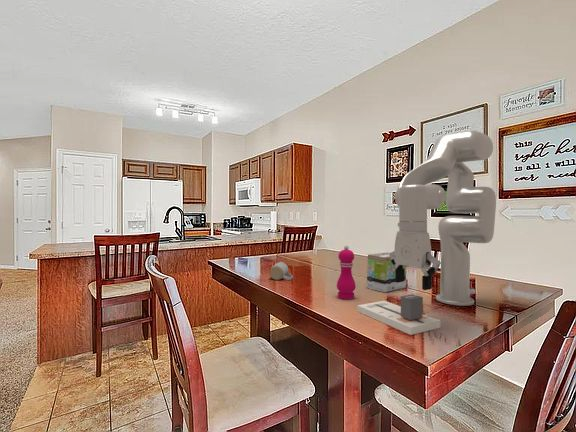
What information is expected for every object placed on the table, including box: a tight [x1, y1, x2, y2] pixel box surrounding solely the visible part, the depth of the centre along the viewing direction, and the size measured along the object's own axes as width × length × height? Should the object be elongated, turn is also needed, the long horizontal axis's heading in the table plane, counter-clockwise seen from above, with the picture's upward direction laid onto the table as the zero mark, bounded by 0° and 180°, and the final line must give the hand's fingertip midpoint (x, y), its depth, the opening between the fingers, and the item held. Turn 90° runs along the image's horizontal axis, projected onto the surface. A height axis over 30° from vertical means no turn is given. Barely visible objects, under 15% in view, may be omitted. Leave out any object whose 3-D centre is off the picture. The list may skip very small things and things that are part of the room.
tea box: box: [366, 251, 407, 293], centre depth 135 cm, size 15×10×15 cm
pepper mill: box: [336, 245, 356, 301], centre depth 120 cm, size 7×7×20 cm
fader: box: [400, 293, 424, 320], centre depth 91 cm, size 5×4×6 cm
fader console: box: [356, 300, 441, 336], centre depth 97 cm, size 12×22×2 cm, turn 27°
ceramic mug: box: [269, 261, 293, 281], centre depth 152 cm, size 11×8×8 cm
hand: (412, 285), depth 92 cm, fingers open, 9 cm apart
